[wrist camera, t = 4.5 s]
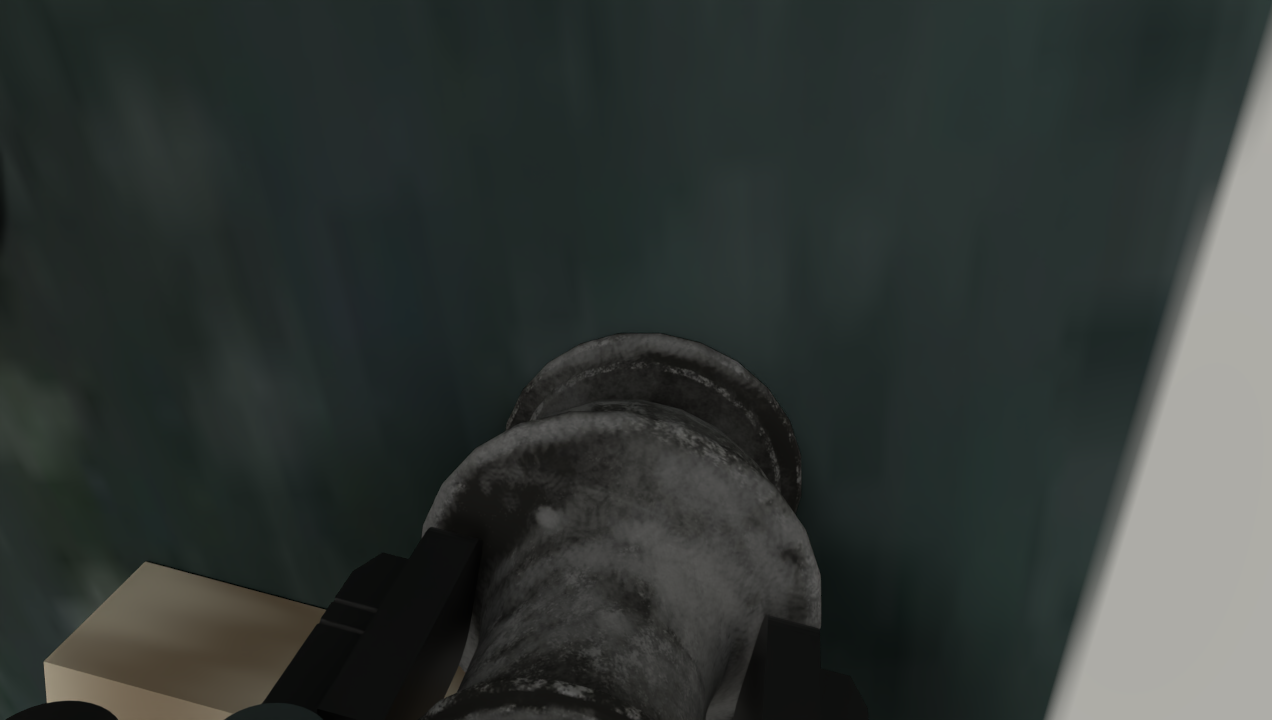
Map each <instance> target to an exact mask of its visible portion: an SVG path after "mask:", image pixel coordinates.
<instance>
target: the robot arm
mask: <svg viewBox="0 0 1272 720" xmlns="http://www.w3.org/2000/svg"><path fill="white" fill-rule="evenodd" d="M481 554H482V540H481V539H477V538H473V537H470V536H466V535H462V534H458V533H454V532H450V531H446V530H443V529H439V528H435V527H430V528H429V529H428V530H427V531H426V532H425V534H424V536H423V537H422V539H421V541H420V542H419V544H418V545H417V547H416V549H415V550H414V552H413V554H412V555H411V557H410V558H409V559H406V558H402V557H398V556H394V555H390V554H387V553H381V554H380V555H378V556H377V557H375V558H373V559H372V560H370V561H369V562H367V563H365V564H364V565H362V566H361V567H359V568H357V569H356V570H354V571H353V572H352V573H351V575H350V576H349V578H348V579H347V581H346V582H345V584H344V585H343V587H342V588H341V589H340V591H339V592H338V594H337V595H336V597H335V600H334V602H331V604H330V605H329V607H328V608H327V610H326V611H325V613H324V614H323V616H322V617H321V620H320V623H319V624H316V626H315V627H314V629H313V630H312V632H311V633H310V634H309V636H308V637H307V639H306V640H305V642H304V643H303V645H302V646H301V648H300V649H299V650H298V652H297V653H296V655H295V656H294V658H293V659H292V661H291V662H290V664H289V665H288V666H287V668H286V669H285V671H284V672H283V674H282V675H281V677H280V678H279V680H278V681H277V682H276V684H275V685H274V687H273V688H272V690H271V691H270V693H269V694H268V696H267V697H266V698H265V700H264V701H263V702H262V704H259V705H255V706H251V707H248V708H245V709H243V710H240V711H238V712H236V713H234V714H232V715H230V716H228V717H227V718H226V719H224V720H418V719H419V718H420V717H422V716H423V715H424V714H425V713H426V712H427V711H428V710H429V709H431V708H432V707H433V706H434V705H435V704H436V703H437V702H438V701H440V700H441V699H444V697H445V695H446V693H447V690H448V688H449V686H450V684H451V682H452V680H453V677H454V675H455V673H456V671H457V669H458V666H459V663H460V661H461V658H462V655H463V652H464V649H465V645H466V642H467V638H468V634H469V629H470V624H471V618H472V611H473V604H474V598H475V591H476V585H477V578H478V573H479V567H480V561H481ZM6 720H118V719H117V717H116V716H115V715H114V714H112V713H111V712H110V711H109V710H107V709H105V708H103V707H101V706H99V705H96V704H93V703H88V702H83V701H56V702H50V703H45V704H41V705H38V706H34V707H31V708H28V709H26V710H23V711H21V712H19V713H17V714H15V715H13V716H11V717H9V718H7V719H6ZM733 720H868V708H867V706H866V704H865V703H864V701H863V699H862V697H861V695H860V693H859V692H858V690H857V688H856V686H855V684H854V682H853V681H852V679H851V677H850V676H848V675H844V674H840V673H836V672H832V671H829V670H825V669H821V661H820V631H819V628H816V627H812V626H808V625H805V624H801V623H797V622H793V621H789V620H785V619H782V618H778V617H774V616H770V615H766V616H765V617H764V619H763V622H762V624H761V627H760V630H759V634H758V637H757V640H756V643H755V646H754V649H753V652H752V656H751V659H750V662H749V665H748V668H747V671H746V674H745V678H744V681H743V684H742V687H741V690H740V693H739V697H738V700H737V704H736V707H735V712H734V716H733Z"/></svg>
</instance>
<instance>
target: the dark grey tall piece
mask: <svg viewBox="0 0 1272 720" xmlns="http://www.w3.org/2000/svg"><path fill="white" fill-rule="evenodd" d="M800 498H801V454H800V451H799V448H798V445H797V442H796V438H795V435H794V432H793V429H792V426H791V423H790V420H789V419H788V417H787V416H786V414H785V413H784V411H783V410H782V408H781V407H780V405H779V404H778V402H777V401H776V399H775V398H774V396H773V395H772V393H771V392H770V390H769V389H768V388H767V387H766V386H765V385H764V384H762V383H761V382H760V381H759V380H758V379H757V378H756V377H754V376H753V375H752V374H751V373H750V372H749V371H748V370H746V369H745V368H744V367H743V366H742V365H741V364H740V363H738V362H737V361H735V360H733V359H731V358H729V357H727V356H725V355H723V354H721V353H719V352H717V351H715V350H714V349H712V348H710V347H708V346H706V345H704V344H702V343H699V342H695V341H691V340H686V339H682V338H678V337H674V336H669V335H665V334H661V333H630V334H615V335H611V336H608V337H604V338H600V339H597V340H593V341H589V342H585V343H582V344H579V345H577V346H576V347H574V348H572V349H571V350H569V351H567V352H566V353H564V354H562V355H560V356H559V357H557V358H555V359H554V360H552V361H550V362H549V363H547V364H546V365H545V366H544V368H543V369H542V370H541V371H540V372H539V373H538V374H537V375H536V376H535V377H534V378H533V379H532V380H531V381H530V383H529V384H528V385H527V386H526V387H525V388H524V389H523V391H522V392H521V394H520V396H519V399H518V401H517V403H516V405H515V407H514V409H513V411H512V413H511V415H510V417H509V419H508V421H507V424H506V431H505V432H503V433H501V434H500V435H498V436H496V437H494V438H493V439H491V440H489V441H487V442H486V443H484V444H482V445H480V446H479V447H477V448H475V449H474V450H473V451H472V452H471V453H470V454H469V456H468V457H467V458H466V459H465V460H464V461H463V462H462V463H461V464H460V465H459V466H458V467H457V468H456V469H455V470H454V471H453V473H452V474H451V475H450V476H449V477H448V478H447V479H446V480H445V481H444V482H443V484H442V485H441V487H440V490H439V492H438V494H437V496H436V498H435V500H434V503H433V505H432V507H431V509H430V511H429V513H428V515H427V518H426V520H425V522H424V524H423V530H422V537H423V536H424V534H425V532H426V531H427V530H428V529H429V528H430V527H435V528H439V529H443V530H446V531H450V532H454V533H458V534H462V535H466V536H470V537H473V538H477V539H481V540H482V554H481V561H480V567H479V573H478V578H477V585H476V591H475V598H474V604H473V611H472V618H471V624H470V629H469V634H468V638H467V642H466V645H465V649H464V652H463V655H462V658H461V661H460V663H459V666H460V667H461V668H462V669H463V671H464V672H465V675H464V677H463V680H462V682H461V684H460V686H459V689H458V691H457V693H455V694H453V695H450V696H448V697H446V698H444V699H441V700H440V701H438V702H437V703H436V704H435V705H434V706H433V707H432V708H431V709H429V710H428V711H427V712H426V713H425V714H424V715H423V716H422V717H420V718H419V719H418V720H733V716H734V712H735V707H736V704H737V700H738V697H739V693H740V690H741V687H742V684H743V681H744V678H745V674H746V671H747V668H748V665H749V662H750V659H751V656H752V652H753V649H754V646H755V643H756V640H757V637H758V634H759V630H760V627H761V624H762V622H763V619H764V617H765V616H766V615H770V616H774V617H778V618H782V619H785V620H789V621H793V622H797V623H801V624H805V625H808V626H812V627H816V628H819V630H820V627H821V574H820V571H819V568H818V565H817V562H816V559H815V556H814V553H813V550H812V547H811V544H810V541H809V538H808V535H807V532H806V529H805V528H804V526H803V525H802V523H801V522H800V521H799V519H798V518H797V516H796V515H795V514H796V511H797V508H798V505H799V501H800Z"/></svg>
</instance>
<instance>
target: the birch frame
mask: <svg viewBox="0 0 1272 720" xmlns="http://www.w3.org/2000/svg"><path fill="white" fill-rule="evenodd" d="M325 611H326V610H325V609H321V608H317V607H314V606H310V605H306V604H302V603H299V602H295V601H291V600H287V599H284V598H280V597H276V596H272V595H269V594H265V593H261V592H258V591H254V590H250V589H246V588H243V587H239V586H235V585H231V584H228V583H224V582H220V581H216V580H213V579H209V578H205V577H201V576H198V575H194V574H190V573H187V572H183V571H179V570H175V569H172V568H168V567H164V566H160V565H157V564H153V563H149V562H144V563H143V564H142V565H141V566H140V567H139V568H138V569H137V570H136V571H135V572H134V573H133V574H132V575H131V576H130V577H129V578H128V579H127V580H126V581H125V582H124V583H123V584H122V585H121V586H120V587H119V588H118V589H117V590H116V591H115V592H114V593H113V594H112V595H111V596H110V597H109V598H108V599H107V600H106V601H105V602H104V603H103V604H102V605H101V606H100V607H99V608H98V609H97V610H96V611H95V612H94V613H93V614H91V615H90V616H89V617H88V618H87V619H86V620H85V621H84V622H83V623H82V624H81V625H80V626H79V627H78V628H77V629H76V630H75V631H74V632H73V633H72V634H71V635H70V636H69V637H68V638H67V639H66V640H65V641H64V642H63V643H62V644H61V645H60V646H59V647H58V648H57V649H56V650H55V651H54V652H53V653H52V654H51V655H50V656H49V657H48V658H47V659H46V660H45V661H44V672H45V684H46V697H47V703H50V702H56V701H83V702H88V703H93V704H96V705H99V706H101V707H103V708H105V709H107V710H109V711H110V712H111V713H112V714H114V715H115V716H116V717H117V719H118V720H224V719H226V718H227V717H228V716H230V715H232V714H234V713H236V712H238V711H240V710H243V709H245V708H248V707H251V706H255V705H259V704H262V702H263V701H264V700H265V698H266V697H267V696H268V694H269V693H270V691H271V690H272V688H273V687H274V685H275V684H276V682H277V681H278V680H279V678H280V677H281V675H282V674H283V672H284V671H285V669H286V668H287V666H288V665H289V664H290V662H291V661H292V659H293V658H294V656H295V655H296V653H297V652H298V650H299V649H300V648H301V646H302V645H303V643H304V642H305V640H306V639H307V637H308V636H309V634H310V633H311V632H312V630H313V629H314V627H315V626H316V624H319V623H320V620H321V617H322V616H323V614H324V613H325ZM464 675H465V672H464V671H463V669H462V668H461V667H460V666H458V669H457V671H456V673H455V675H454V677H453V680H452V682H451V684H450V686H449V688H448V690H447V693H446V695H445V697H444V698H446V697H448V696H450V695H453V694H455V693H457V691H458V689H459V686H460V684H461V682H462V680H463V677H464Z"/></svg>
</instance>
